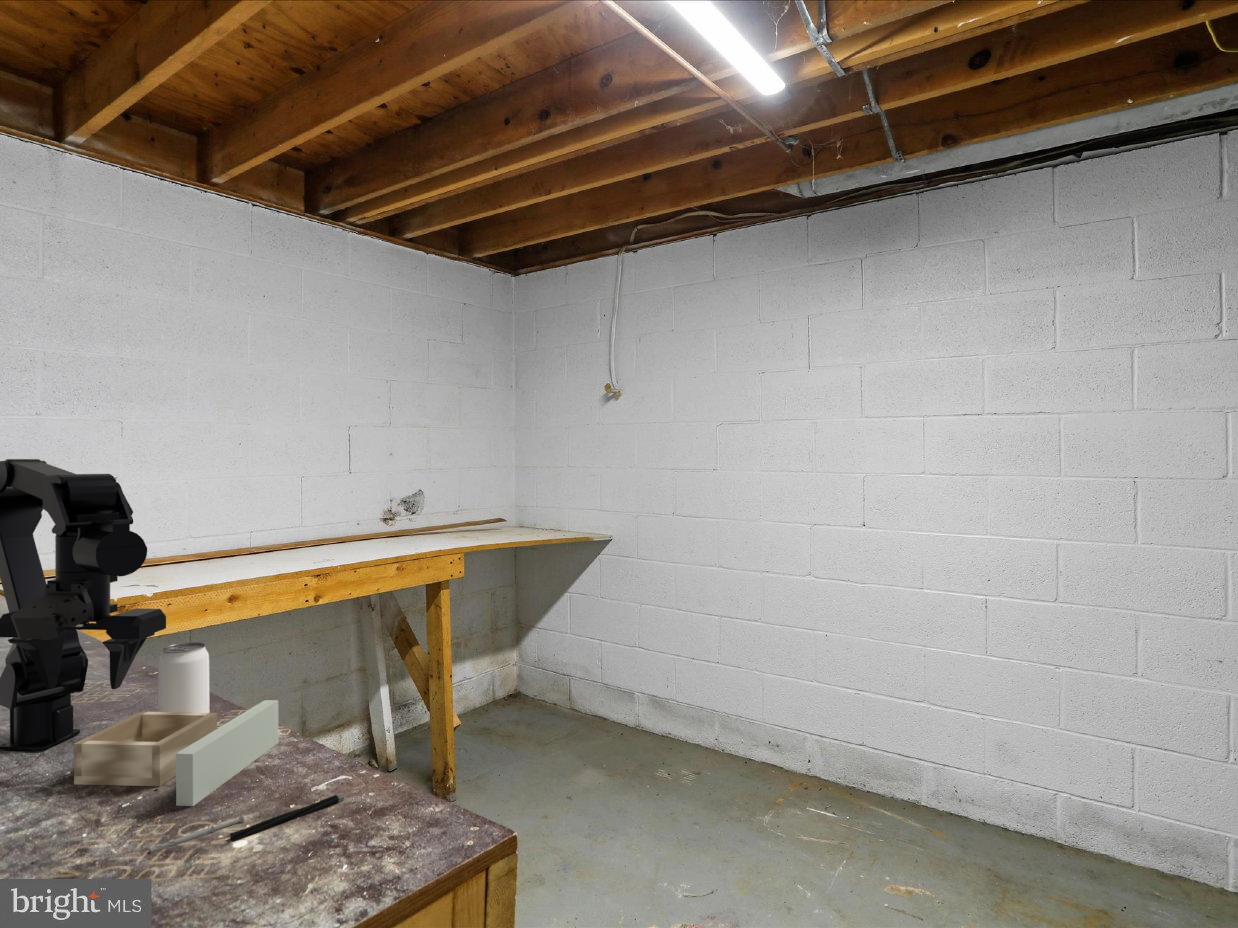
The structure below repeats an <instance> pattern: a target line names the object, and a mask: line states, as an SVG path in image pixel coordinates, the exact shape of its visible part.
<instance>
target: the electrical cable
mask: <svg viewBox="0 0 1238 928" xmlns="http://www.w3.org/2000/svg"><path fill="white" fill-rule="evenodd" d="M346 796H347V795H346V794H345V793H344V792H343V793H339V794H334V795H331V796H329V797H326V798H324V799H321V800H318V801H317V802H313V803H311V804H309V805H307V806H303V807H301V808H297V809H294V810H291V811H288V812H285V813H282V814H279V815H277V816H273V817H271V818H269V819H266V820H263V821H261V822H258V823H256V824H253V825H250V826H248V827H245V828H243V829H240V830H237V831H233V832H231V833H229V837H230V838H229V839H230V841H232V842H233V843H234V842H237V841H239V840H241V839H244V838H247V837H249V836H251V835H254V834H256V833H259V832H261V831H263V830H266V829H269V828H272V827H275V826H278V825H281V824H284V823H286V822H287V823H288V822H290V821H293V820H296V819H298V818H301V817H304V816H306V815H308V814H311V813H313V812H316V811H319V810H320V809H323V808H326V807H329V806H332V805H335V804H338V803H340V802H342V801H345V800H346V799H347V798H346Z"/></svg>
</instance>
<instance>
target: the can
mask: <svg viewBox="0 0 1238 928" xmlns="http://www.w3.org/2000/svg"><path fill="white" fill-rule="evenodd" d="M206 646H207V644H206V643H205V642H199V641H196V642H195V641H194V642H193V641H191V642H182V643H176V644H171V645H168V646H164V647H163V648H162V649H161V655H160V657H159V659H158V663H157V669H158V670H157V680H158V681H157V682H158V683H157V687H158V688H157V691H158V692H157V693H158V694H157V699H158V701H157V707H158V709H157V710H158V711H157V712H190V713H210V653H209V652H208V650H207V649H206Z"/></svg>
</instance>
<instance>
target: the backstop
mask: <svg viewBox="0 0 1238 928" xmlns="http://www.w3.org/2000/svg"><path fill="white" fill-rule="evenodd" d="M279 742H280V741H279V700H276V699H275V700H274V699H272V700H271V699H267V700H266V699H264V700H262V701H260V702H259V703H257V704H256V705H254V706H253V707H251V708H250V709H248V710H246V711H244V712H242V713H240V714H238V715H237V716H236V717H234V718H233V719H231V720H229V721H227V722H226V723H224V724H222V725H221V726H219V727H217V729H216V730H214V731H213V732H211V733H209V734H208V735H206V736H204V737H203V738H201V739H200V740H198V741H196V742H195V743H193V744H191V745H190V746H188V747H186V748H185V749H183V750H181V751H180V752H178V753H176V776H175V787H176V788H175V789H176V790H175V792H176V796H175V798H176V799H175V802H176V803H175V804H176V805H175V806H178V807H194V806H195V805H197V804H198V803H199V802H201V801H202V800H204V799H205V798H207V796H209V795H210V794H212V793H214V791H216V790H217V789H218V788H219V787H221V786H223V785H224V784H225V783H227V782H228V781H229V780H230V779H232V778H234V777H235V776H236V775H237V774H239V773H240V772H241V771H242V770H244V769H245V768H247V767H248V766H250V765H252V763H254V762H255V761H256V760H258V759H259V758H261V757H262V756H263V755H264V754H266V753H267V752H268V751H270V750H272V748H274V747H275V746H277V745H278V744H279Z"/></svg>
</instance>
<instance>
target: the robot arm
mask: <svg viewBox="0 0 1238 928" xmlns="http://www.w3.org/2000/svg"><path fill="white" fill-rule="evenodd" d="M43 511H45V512H47V513H48V515H49V517H50V518H51V520H52V522H53V523H54V525H53V527H51V533H52V534H55V537H54V539H55V549H54V550H55V551H54V552H55V560H54V561H55V562H54V563H55V565H54V566H55V567H54V568H55V569H54V570H55V573H54V574H55V575H54V576H55V578H54V579H49V580H47V581H46V577H45V573H44V570H43V567H42V563H41V559H40V554H39V553H38V552H39V551H38V548H37V545H36V542H35V541H36V540H35V537H34V532H35V531H36V528H38V525H39V523H40V521H41V519H42V517H43V515H42V513H43ZM133 514H134V511H133V509H132V507H131V504H130V503H129V501H128V499H127V498H126V495H125V493H124V491H123V489H122V487H121V484H120V483H119V481H118V482H117V478H115V477H114V475H112V474H110V473H74V472H71V471H68V470H66V469H63V468H60V467H57V466H54V465H51V464H48V463H47V461H45V460H41V459H39V458H7V459H5V460H0V583H1V586H2V587H1V588H2V590H3V594H4V598H5V601H6V606H7V610H8V612H7V613H2V615H1V616H0V638H8V639H7V641H8V642H9V644H11V646H10V648H9V651H8V653H7V655H6V656H5V659H4V661H5V667H4V668H3V671H2V672H1V675H0V706H2V707H4V708H6V709H9V741H7V742H3V743H2V744H0V750H4V751H5V750H12V751H15V750H17V751H42V750H46V749H48V748H51V747H53V746H56V745H57V744H59V743H61V742H64V741H65V740H68V739H70V738H73V737H74V736H76V735H78V734H80V733H81V729H80V728H74V705H73V704H72V695H73V694H75V693H81V692H83V691H84V686H85V683H86V677H87V673H88V666H89V658H88V657H87V653H86V652H85V650H84V649H83V647H82V644H81V642H80V639H79V634H78V631H77V630H79V631H80V630H83V631H84V630H86V631H94V630H95V631H105V634H106V635H108V637H109V638H110V639H106V640H104V641H102V644H103V645H104V647H106V649H107V650H108V651H109V683H110V688H111V690H117V689H119V688H121V686H122V684H123V682H124V679H125V678H126V675H127V674H128V672H129V669H130V668H131V666H132V664H133V662H134V660H135V658H136V656H137V654H138V653H139V652H140V650H141V648H142V646H143V645H144V643H145V642H146V640H147V638H150V637H152V636H153V637H154V636H155V633H158V632H160V631H163V630H166V629H167V615H166V614H165V612H164V611H163V610H162V609H161V608H141V607H140V608H137V607H136V608H133V609H129V610H127V611H122V612H120V613H116V612H118V605H119V604H118V603H111V583H115V582H118V580H119V579H118V577H126V576H129V575H131V574H133V573H135V572H137V570H139V569H140V568H141V567H142V566H143V564H144V563H145V561H146V559H147V556H148V546H147V545H146V543H145V540H144V539H143V537H141V535H139V533H137V532H134V531H131V529H130V528H131V527H130V526H131V525H133V524H134V519H133V516H132V515H133ZM113 613H116V614H113Z"/></svg>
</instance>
